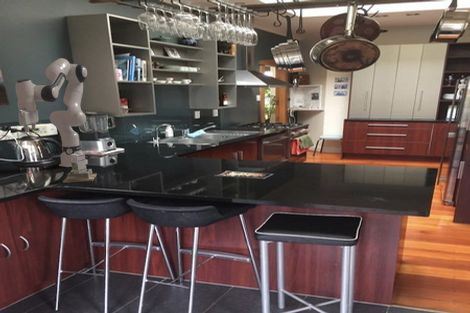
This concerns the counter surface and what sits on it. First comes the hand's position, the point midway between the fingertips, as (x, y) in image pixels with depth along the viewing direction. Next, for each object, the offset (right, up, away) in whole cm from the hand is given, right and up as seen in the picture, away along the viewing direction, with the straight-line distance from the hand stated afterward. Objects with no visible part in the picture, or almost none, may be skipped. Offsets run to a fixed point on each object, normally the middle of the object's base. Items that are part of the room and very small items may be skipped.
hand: (30, 131), depth 194 cm
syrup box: (+27, -28, +4) cm, 39 cm away
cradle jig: (+27, -28, +5) cm, 40 cm away
